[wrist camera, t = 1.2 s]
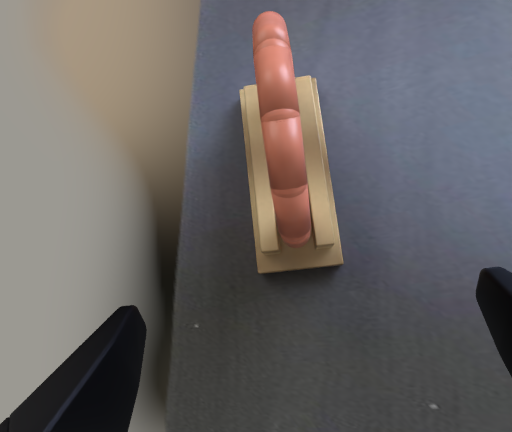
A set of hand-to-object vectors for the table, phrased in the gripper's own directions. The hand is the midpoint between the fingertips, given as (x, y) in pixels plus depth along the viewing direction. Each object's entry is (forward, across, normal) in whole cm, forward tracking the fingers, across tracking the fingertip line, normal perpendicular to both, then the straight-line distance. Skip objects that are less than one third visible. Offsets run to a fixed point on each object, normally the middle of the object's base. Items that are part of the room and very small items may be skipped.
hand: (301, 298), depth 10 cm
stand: (+14, 0, +4) cm, 15 cm away
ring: (+14, 0, +3) cm, 14 cm away
